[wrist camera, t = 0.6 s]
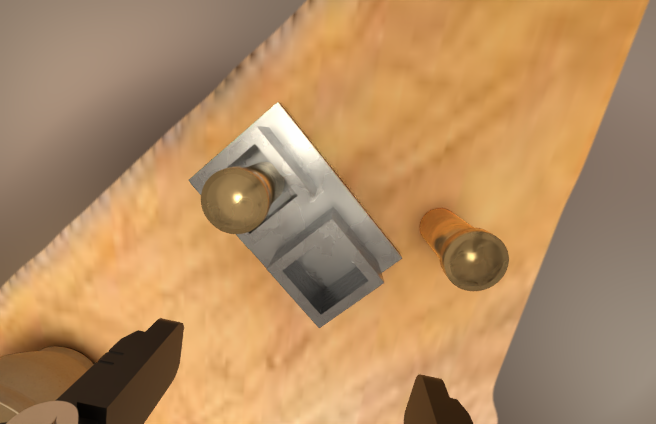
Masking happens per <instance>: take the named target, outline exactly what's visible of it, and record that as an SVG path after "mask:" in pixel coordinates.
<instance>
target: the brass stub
mask: <svg viewBox="0 0 656 424" xmlns="http://www.w3.org/2000/svg"><path fill="white" fill-rule="evenodd" d="M420 233H421V235H422V237H423V238H424V239H425V241H426V242H427V243H428V245H429V246H430V247H431V248H432V250H433V251H434V252H435V253H436V255H437V256H438V257H439V258H440V264H441V267H442V269H443V271H444V273H445V274H446V276H447V277H448V278H449V280H450V281H451V282H452V283H453V284H454V285H456V286H457V287H459V288H461V289H464V290H467V291H481V290H485V289H487V288H490V287H491V286H493V285H495V284H496V283H497V282H498V281H499V280H500V279H501V278H502V277H503V276H504V274H505V272H506V270H507V267H508V262H509V256H508V251H507V249H506V247H505V245H504V243H503V242H502V241H501V240H500V239H499V238H497V237H496V236H494V235H493V234H491V233H490V232H488V231H486V230H484V229H481V228H474V227H472V226H471V225H469V224H468V223H467V222H465V221H464V220H462V219H461V218H460V217H458V216H457V215H455V214H454V213H453V212H451V211H450V210H448V209H444V208H436V209H433V210H430V211H429V212H427V213H426V214H425V215H424V216H423V218H422V220H421V222H420Z"/></svg>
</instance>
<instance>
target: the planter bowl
mask: <svg viewBox="0 0 656 424" xmlns="http://www.w3.org/2000/svg"><path fill="white" fill-rule="evenodd" d="M93 365H94V364H93V363H92V362H91V361H90V360H89V359H88V358H87V357H85V356H84V355H83V354H81V353H79V352H77V351H75V350H72V349H69V348H66V347H47V348H44V349H41V350H39V351H32V352H22V353H16V354H10V355H6V356H2V357H0V423H4V422H8V421H9V420H11V419H12V418H13V417H14V416H16V415H17V414H18V413H20V412H22V411H23V410H25V409H27V408H29V407H32V406H34V405H37V404H40V403H44V402H49V401H55V400H56V399H58V398H59V397H60V396H61V395H62V394H63V393H64V392H65V391H66V390H67V389H68V388H69V387H70V386H71V385H72V384H74V383H75V382H76V381H77V380H78V379H79V378H80V377H81V376H82V375H83V374H84V373H85V372H86V371H87V370H89V369H90V368H91V367H92V366H93Z"/></svg>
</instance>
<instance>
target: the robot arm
mask: <svg viewBox="0 0 656 424" xmlns="http://www.w3.org/2000/svg"><path fill="white" fill-rule="evenodd" d="M183 330H184V325H183V323H180V322H176V321H171V320H166V319H162V318H160V319H158V320H157V321H156V322H155V323H154V324H153V325H152V326H151V327H150V328H149V329H148V330H147V331H146V332H143V331H136V332H134V333H132V334H130V335H128V336H126V337H124V338H122V339H121V340H119V341H118V342H117V343H116V344H115V345H114V346H113V347H112V348H111V349H110V350H109V352H108V353H106V354H105V355H103V356H102V357H101V358H100V359H99V361H98V363H97V362H96V363H95V364H94V365H93V366H92V367H91V368H90V369H89V370H87V371H86V372H85V373H84V374H83V375H82V376H81V377H80V378H79V379H78V380H77V381H76V382H75V383H74V384H72V385H71V386H70V387H69V388H68V389H67V390H66V391H65V392H64V393H63V394H62V395H61V396H60V397H59V398H58V399H56V400H55V401H49V402H44V403H40V404H37V405H34V406H32V407H29V408H27V409H25V410H23V411H22V412H20V413H18V414H17V415H16V416H14V417H13V418H12V419H11V420H9V421H8V422H4V423H0V424H144V422H145V421H146V420H147V418H148V417H149V415H150V414H151V412H152V411H153V409H154V408H155V406H156V405H157V403H158V402H159V401H160V399H161V398H162V396H163V395H164V393H165V392H166V390H167V389H168V387H169V386H170V384H171V383H172V381H173V380H174V378H175V376H176V373H177V371H178V368H179V364H180V357H181V348H182V339H183ZM404 424H473V422H472V420H471V417H470V415H469V413H468V412H467V411H466V410H465V408H464V407H463V406H462V405H461V404H460V402H459V401H458V400H457V399H453V398H450V397H449V394H448V392H447V389H446V387H445V384H444V382H443V380H442V379H439V378H434V377H429V376H425V375H420V374H419V375H418V376H417V377H416V380H415V383H414V386H413V389H412V392H411V395H410V398H409V401H408V404H407V407H406V410H405V415H404Z"/></svg>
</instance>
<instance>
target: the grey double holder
mask: <svg viewBox="0 0 656 424" xmlns="http://www.w3.org/2000/svg"><path fill="white" fill-rule="evenodd" d="M189 181H190V183H191V184H192V186H193V187H194V188H195V189H196V190H197V191H198V192H199V194H200V195H201V205H202V209H203V212H204V214H205V216H206V217H207V219H208V220H209V221H210V223H212V224H213V225H214V226H215V227H216V228H218V229H219V230H221V231H224V232H226V233H230V234H236V235H237V236H238V237H239V239H240V240H241V241H242V242H243V243H244V244H245V245H246V246H247V248H248V249H250V250H251V251H252V252H253V254H254V255H255V256H256V257H257V258H258V259H259V260H260V261H261V263H262V264H263V265H264V266H265V267H266V268H267V270H268V271H269V272H270V273H271V275H272V276H273V277H274V278H275V279H276V280H277V281H278V282H279V284H280V285H281V286H282V287H283V288H284V289H285V290H286V291H287V293H288V294H289V295H290V296H291V297H292V298H293V299H294V300H295V302H296V303H297V304H298V305H299V306H300V307H301V308H302V310H303V311H304V312H305V313H306V314H307V315H308V316H309V317H310V319H311V320H312V321H313V322H314V323H315V324H316V325H317V326H318V328H320V327H322V326H323V325H325V324H326V323H328V322H329V321H330V320H332V319H333V318H335V317H336V316H338V315H339V314H340V313H342V312H343V311H345V310H346V309H348V308H349V307H350V306H352V305H353V304H355V303H356V302H358V301H359V300H360V299H362V298H363V297H365V296H366V295H368V294H369V293H370V292H372V291H373V290H375V289H376V288H378V287H379V286H380V285H382V284H383V283H384V280H383V276H382V272H384V271H385V270H386V269H388V268H389V267H391V266H392V265H393V264H395V263H396V262H398V261H399V260H400V259H402V257H401V255H400V253H399V252H398V251H397V250H396V248H395V247H394V246H393V245H392V243H391V242H390V241H389V240H388V238H387V237H386V236H385V235H384V233H383V232H382V231H381V229H380V228H379V227H378V226H377V224H376V223H375V222H374V221H373V219H372V218H371V217H370V216H369V214H368V213H367V212H366V211H365V209H364V208H363V207H362V206H361V204H360V203H359V202H358V201H357V199H356V198H355V197H354V196H353V194H352V193H351V192H350V191H349V189H348V188H347V187H346V185H345V184H344V183H343V182H342V180H341V179H340V178H339V177H338V175H337V174H336V173H335V172H334V170H333V169H332V168H331V167H330V165H329V164H328V163H327V162H326V160H325V159H324V158H323V157H322V155H321V154H320V153H319V152H318V150H317V149H316V148H315V147H314V145H313V144H312V143H311V141H310V140H309V139H308V138H307V136H306V135H305V134H304V133H303V131H302V130H301V129H300V128H299V126H298V125H297V124H296V123H295V121H294V120H293V119H292V118H291V116H290V115H289V114H288V113H287V111H286V110H285V109H284V108H283V106H282V105H281V104H280V103H279V102H277V103H276V104H275V105H274V106H273V107H271V108H270V109H269V110H268V111H267V112H266V113H265V114H263V115H262V116H261V117H260V118H259V119H258V120H257V121H255V122H254V123H253V124H252V125H251V126H250V127H249V128H247V129H246V130H245V131H244V132H243V133H242V134H241V135H239V136H238V137H237V138H236V139H235V140H234V141H233V142H231V143H230V144H229V145H228V146H227V147H226V148H225V149H223V150H222V151H221V152H220V153H219V154H218V155H217V156H215V157H214V158H213V159H212V160H211V161H210V162H209V163H207V164H206V165H205V166H204V167H203V168H202V169H201V170H199V171H198V172H197V173H196V174H195V175H194V176H193V177H191V178H190V179H189Z"/></svg>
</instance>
